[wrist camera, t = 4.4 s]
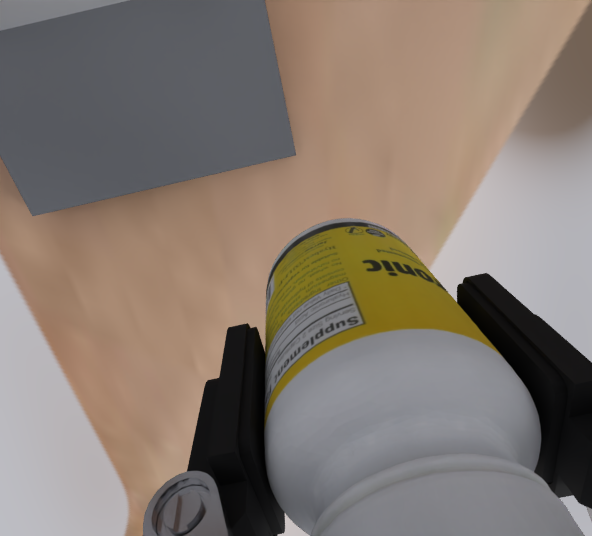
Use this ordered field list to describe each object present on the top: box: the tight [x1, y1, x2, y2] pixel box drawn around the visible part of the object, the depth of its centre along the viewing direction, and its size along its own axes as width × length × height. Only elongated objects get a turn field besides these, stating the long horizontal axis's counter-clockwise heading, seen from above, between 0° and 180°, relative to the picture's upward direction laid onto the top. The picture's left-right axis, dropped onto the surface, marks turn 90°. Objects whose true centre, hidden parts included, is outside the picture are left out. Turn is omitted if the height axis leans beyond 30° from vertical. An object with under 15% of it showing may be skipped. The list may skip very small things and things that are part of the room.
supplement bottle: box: [264, 218, 584, 536], centre depth 9 cm, size 5×5×10 cm
